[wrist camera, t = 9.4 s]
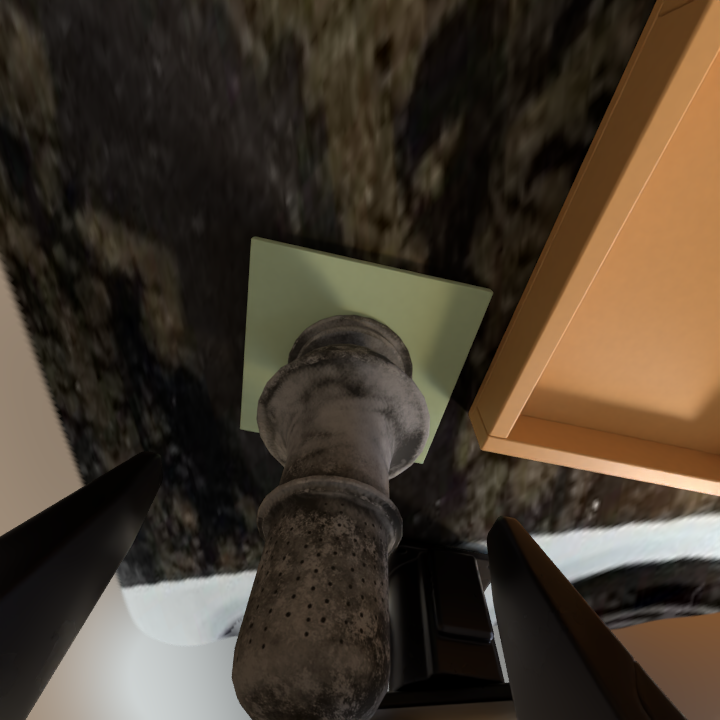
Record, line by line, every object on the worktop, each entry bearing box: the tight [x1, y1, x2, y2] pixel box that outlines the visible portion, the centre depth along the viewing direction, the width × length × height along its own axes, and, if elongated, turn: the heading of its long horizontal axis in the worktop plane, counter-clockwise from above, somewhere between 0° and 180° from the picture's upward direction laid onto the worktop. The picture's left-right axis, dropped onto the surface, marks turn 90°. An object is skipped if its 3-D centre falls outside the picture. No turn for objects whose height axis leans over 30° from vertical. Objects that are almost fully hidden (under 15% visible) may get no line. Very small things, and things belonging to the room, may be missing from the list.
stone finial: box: [232, 315, 430, 720], centre depth 10 cm, size 6×6×12 cm
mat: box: [240, 236, 493, 464], centre depth 16 cm, size 9×9×1 cm
